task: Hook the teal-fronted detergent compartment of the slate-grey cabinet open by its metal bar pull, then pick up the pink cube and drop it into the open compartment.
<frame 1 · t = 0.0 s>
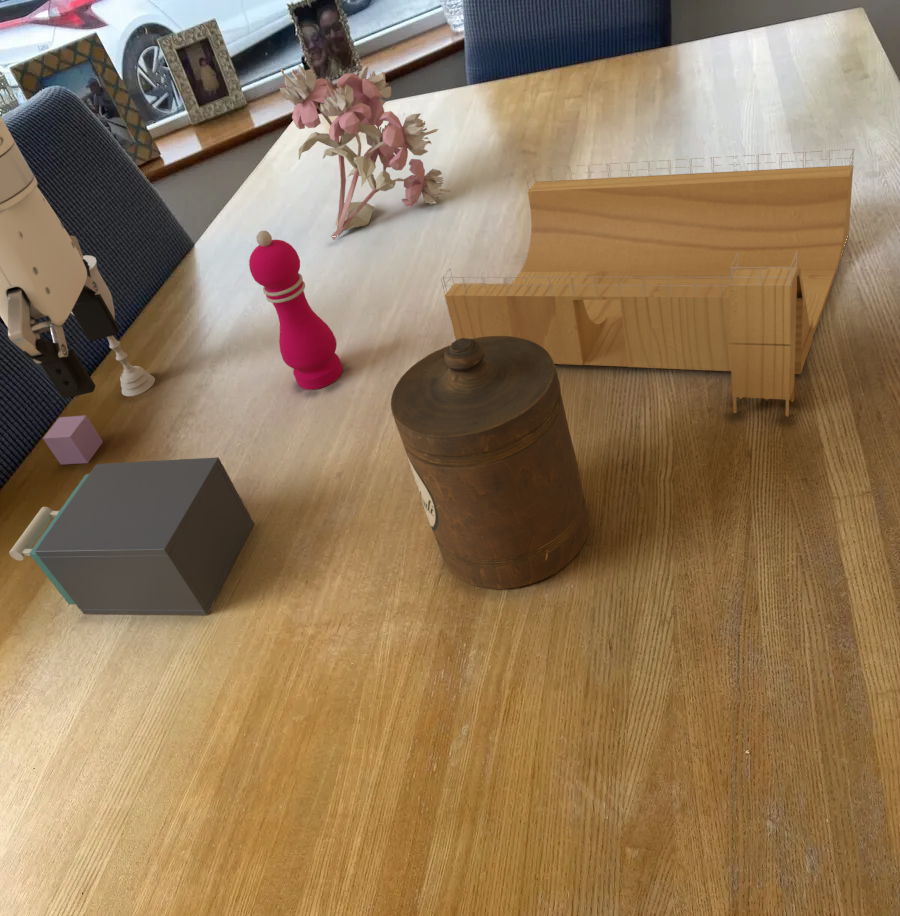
hand: (93, 363, 87), 24 cm above the table, tool pointing down, fingers open, 9 cm apart
drawer: (108, 537, 102), point 5 cm above the table, slide at 0.5 cm
flower: (398, 212, 152), on the table
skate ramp: (647, 316, 114), on the table
pepper mill: (320, 377, 123), on the table
pink cube: (82, 453, 125), on the table
wooden container: (514, 537, 93), on the table
chalice: (138, 386, 134), on the table
cabinet: (170, 568, 103), on the table
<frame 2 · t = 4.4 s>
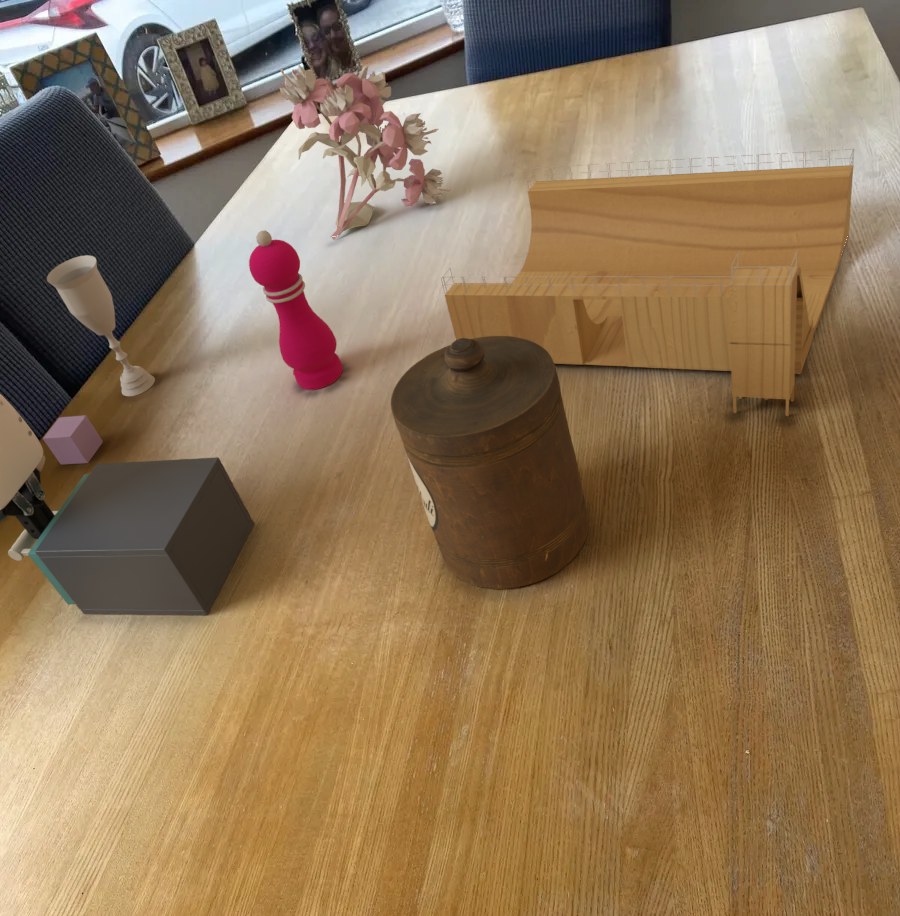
hand: (48, 533, 103), 6 cm above the table, tool pointing down, fingers closed
drawer: (106, 537, 102), point 5 cm above the table, slide at 0.7 cm, touching gripper
everything else where it was.
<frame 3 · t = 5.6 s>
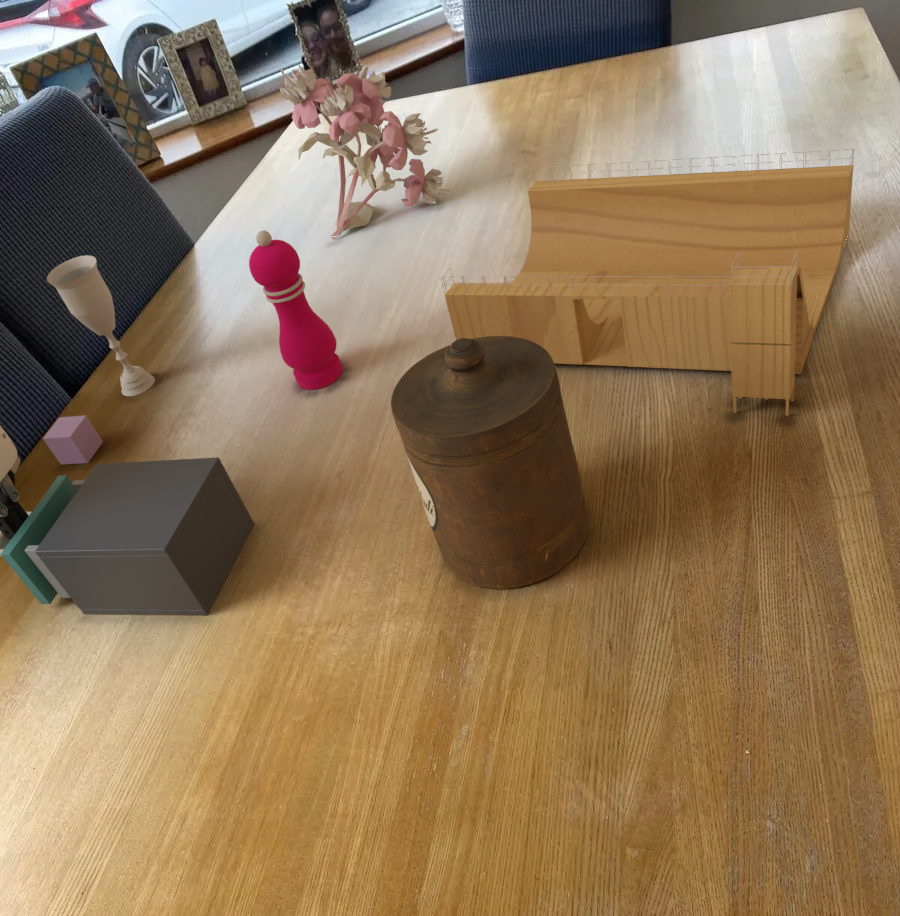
hand: (23, 534, 105), 6 cm above the table, tool pointing down, fingers closed
drawer: (80, 538, 103), point 5 cm above the table, slide at 4.2 cm, touching gripper
everything else where it was.
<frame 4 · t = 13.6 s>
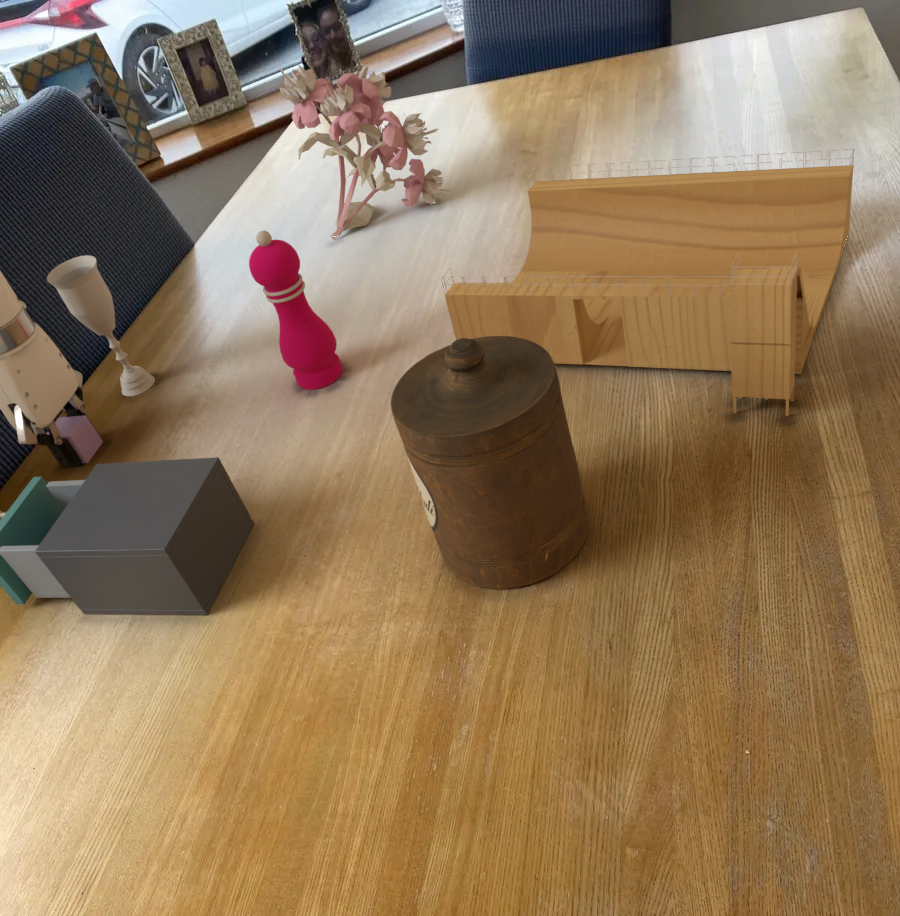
hand: (80, 451, 125), 0 cm above the table, tool pointing down, fingers closed on pink cube, 4 cm apart
drawer: (54, 539, 104), point 5 cm above the table, slide at 7.7 cm
pink cube: (82, 453, 125), on the table, touching gripper
everything else where it was.
when the fingers open (10 cm above the table, at t = 20.5 s): pink cube drops 8 cm, resting on drawer.
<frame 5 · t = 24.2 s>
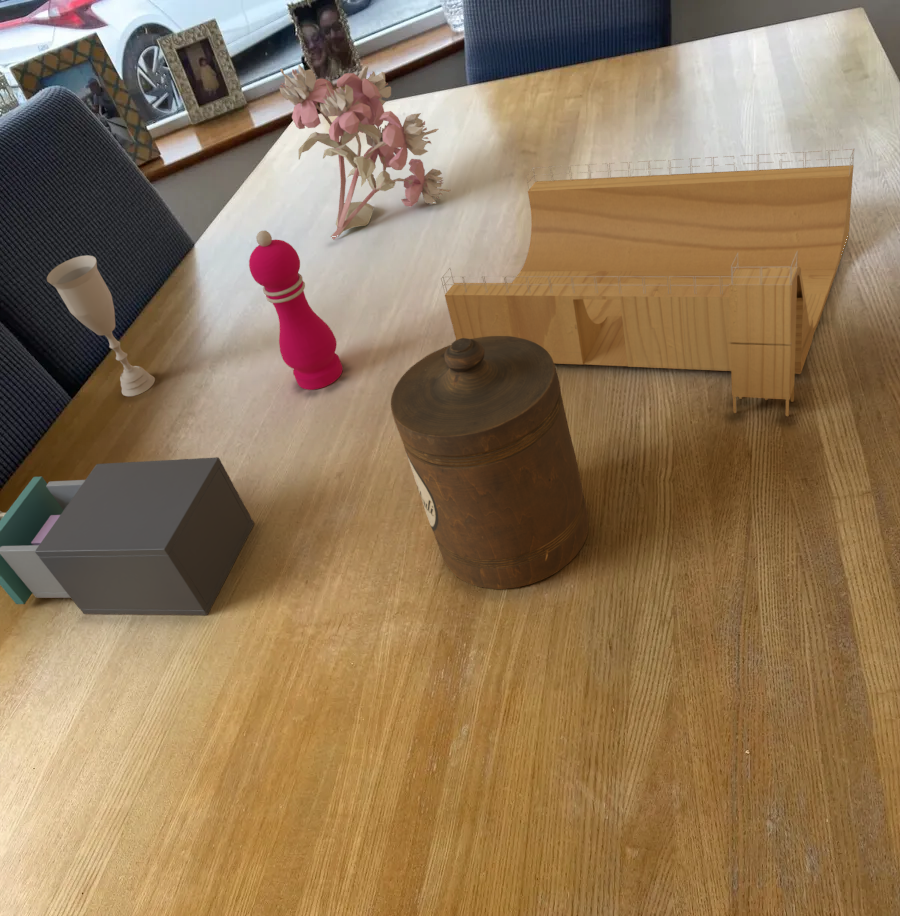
drawer: (54, 539, 104), point 5 cm above the table, slide at 7.7 cm, touching pink cube
pink cube: (78, 556, 105), point 2 cm above the table, touching drawer
everything else where it was.
at the end: drawer slide at 7.7 cm; pink cube inside the target area in the drawer (0.3 cm from its centre), point 2.0 cm above the cabinet's base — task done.
